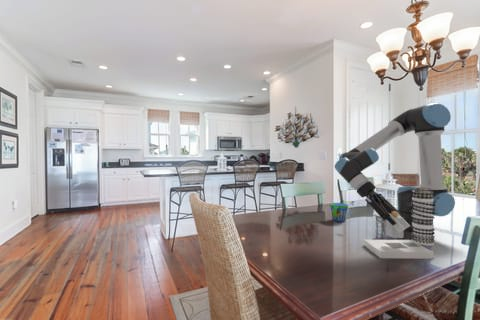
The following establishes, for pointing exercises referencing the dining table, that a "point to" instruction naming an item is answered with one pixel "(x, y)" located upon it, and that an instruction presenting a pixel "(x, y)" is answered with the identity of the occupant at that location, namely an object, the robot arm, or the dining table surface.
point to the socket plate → (398, 249)
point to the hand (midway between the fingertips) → (404, 229)
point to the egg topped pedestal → (390, 229)
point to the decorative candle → (422, 216)
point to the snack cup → (339, 211)
